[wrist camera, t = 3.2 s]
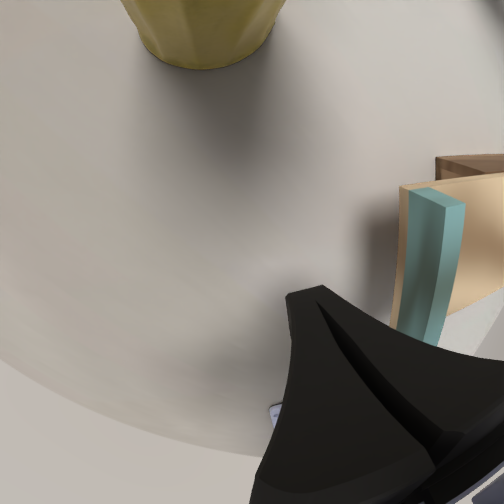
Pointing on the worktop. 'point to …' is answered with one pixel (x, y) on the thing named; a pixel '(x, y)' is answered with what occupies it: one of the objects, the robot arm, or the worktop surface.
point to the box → (468, 165)
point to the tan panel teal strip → (447, 251)
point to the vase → (203, 29)
